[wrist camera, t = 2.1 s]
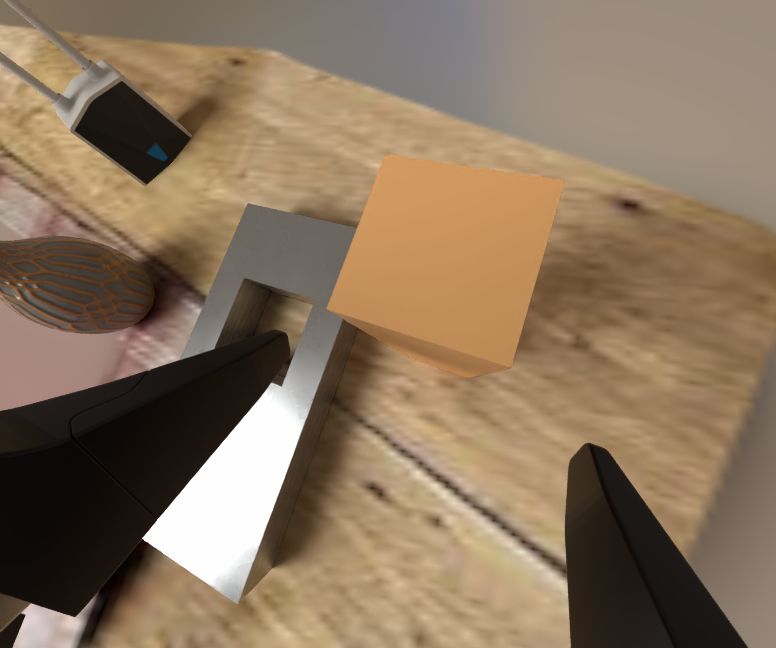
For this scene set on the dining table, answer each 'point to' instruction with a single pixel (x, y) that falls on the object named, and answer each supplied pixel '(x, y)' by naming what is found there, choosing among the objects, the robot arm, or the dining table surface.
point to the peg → (447, 262)
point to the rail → (261, 401)
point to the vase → (73, 284)
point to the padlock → (108, 110)
